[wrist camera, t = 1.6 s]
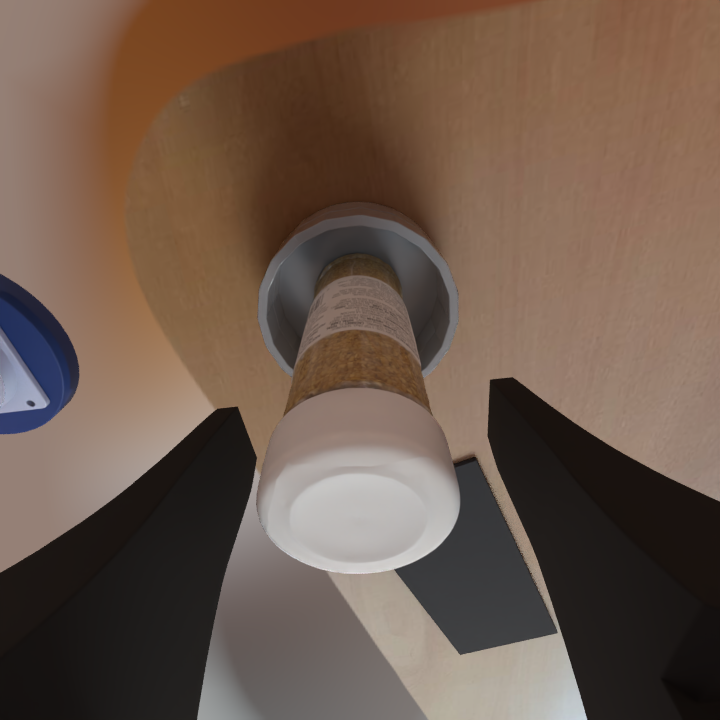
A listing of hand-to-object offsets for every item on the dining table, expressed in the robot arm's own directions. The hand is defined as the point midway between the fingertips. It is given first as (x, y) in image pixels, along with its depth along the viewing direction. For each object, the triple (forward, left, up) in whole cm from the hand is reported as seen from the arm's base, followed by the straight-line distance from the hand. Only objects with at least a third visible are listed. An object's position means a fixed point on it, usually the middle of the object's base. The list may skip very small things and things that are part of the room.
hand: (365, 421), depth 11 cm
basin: (0, 0, -10) cm, 10 cm away
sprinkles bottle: (0, 0, -10) cm, 10 cm away
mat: (+5, -27, -10) cm, 29 cm away
